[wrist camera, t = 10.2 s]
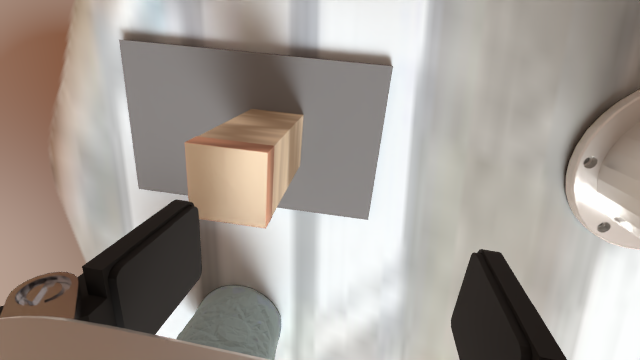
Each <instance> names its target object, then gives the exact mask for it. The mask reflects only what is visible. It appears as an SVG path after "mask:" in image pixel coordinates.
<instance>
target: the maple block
mask: <svg viewBox="0 0 640 360" xmlns="http://www.w3.org/2000/svg"><path fill="white" fill-rule="evenodd" d="M303 117H304V115H302V114H293V113H284V112H275V111H266V110H257V109H250V110H248V111H247V112H245V113H243V114H241V115H239V116H237V117H235V118H233V119H231V120H229V121H227V122H225V123H223V124H221V125H219V126H217V127H215V128H213V129H211V130H209V131H207V132H205V133H203V134H201V135H199V136H196V137H194V138H192V139H190V140H188V141H186V142H185V155H186V169H187V183H188V198H189V202H192V203H193V204H194V206H195V207H197V208H198V212H199V219H203V220H210V221H217V222H224V223H232V224H239V225H246V226H253V227H260V228H266V227H267V225H268V223H269V222H270V220H271V218H272V215H273V213H274V212H275V210H276V208H277V206H278V204H279V203H280V201H281V199H282V197H283V195H284V193H285V192H286V190H287V188H288V186H289V184H290V183H291V181H292V179H293V177H294V175H295V174H296V172H297V170H298V168H299V166H300V160H301V146H302V132H303Z"/></svg>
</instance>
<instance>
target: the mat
mask: <svg viewBox="0 0 640 360" xmlns="http://www.w3.org/2000/svg"><path fill="white" fill-rule="evenodd" d="M119 42H120V49H121V57H122V65H123V72H124V80H125V87H126V95H127V103H128V110H129V118H130V125H131V133H132V141H133V148H134V156H135V163H136V171H137V179H138V186H139V189H145V190H152V191H160V192H167V193H174V194H182V195H188V183H187V169H186V155H185V142H186V141H188V140H190V139H192V138H194V137H196V136H199V135H201V134H203V133H205V132H207V131H209V130H211V129H213V128H215V127H217V126H219V125H221V124H223V123H225V122H227V121H229V120H231V119H233V118H235V117H237V116H239V115H241V114H243V113H245V112H247V111H248V110H250V109H257V110H266V111H275V112H284V113H293V114H302V115H304V117H303V132H302V146H301V160H300V166H299V168H298V170H297V172H296V174H295V175H294V177H293V179H292V181H291V183H290V184H289V186H288V188H287V190H286V192H285V193H284V195H283V197H282V199H281V201H280V203H279V204H278V206H277V207H278V208H285V209H292V210H300V211H307V212H314V213H322V214H329V215H337V216H344V217H351V218H359V219H366V220H368V216H369V210H370V204H371V198H372V192H373V186H374V179H375V173H376V167H377V161H378V155H379V149H380V143H381V136H382V130H383V124H384V118H385V112H386V106H387V99H388V93H389V87H390V81H391V75H392V69H393V66H388V65H377V64H367V63H357V62H347V61H336V60H326V59H316V58H306V57H295V56H285V55H275V54H264V53H254V52H244V51H234V50H223V49H213V48H203V47H193V46H182V45H172V44H162V43H152V42H141V41H131V40H119Z"/></svg>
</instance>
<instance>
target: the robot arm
mask: <svg viewBox="0 0 640 360" xmlns="http://www.w3.org/2000/svg"><path fill="white" fill-rule="evenodd" d="M566 195H567V199H568V203H569V206H570V208H571V210H572V212H573V213H574V215H575V217H576V218H577V219H578V220H579V221H580V222H581V223H582V225H583V226H584V227H586V228H587V229H588V230H589V231H591V232H592V233H593V234H594V235H596V236H597V237H599V238H601V239H603V240H605V241H607V242H608V243H611V244H614V245H617V246H620V247H624V248H630V249H637V250H640V90H637V91H636V92H634V93H632V94H630V95H629V96H627V97H625V98H624V99H622V100H620V101H618V102H617V103H616V104H614V105H613V106H612V107H611V108H609V109H608V110H607V111H606V112H604V113H603V114H602V115H601V116H600V117H599V118H598V119H597V120H596V121H595V122H594V123H593V124H592V125H591V126H590V127H589V128H588V129H587V131H586V132H585V134H584V135H583V137H582V138H581V139H580V141H579V142H578V144H577V145H576V147H575V150H574V152H573V154H572V156H571V159H570V161H569V165H568V169H567V173H566ZM82 268H83V274H82V275H80V276H79V277H77V276H75V275H74V274H72V273H68V272H53V273H47V274H44V275H40V276H37V277H34V278H32V279H29V280H27V281H25V282H24V283H22V284H20V285H19V286H17V287H16V288H15V289H14V290H13V291H11V293H10V294H9V296H8V297H7V299H6V302H5V305H4V306H1V307H0V360H270V359H265V358H260V357H256V356H251V355H247V354H242V353H238V352H233V351H228V350H224V349H219V348H214V347H210V346H205V345H200V344H195V343H191V342H186V341H181V340H177V339H172V338H167V337H162V336H158V335H155V334H156V333H157V331H158V330H159V329H160V328H161V326H162V325H163V324H164V323H165V321H166V320H167V319H168V318H169V316H170V315H171V314H172V312H173V311H174V310H175V309H176V307H177V306H178V305H179V304H180V302H181V301H182V300H183V299H184V297H185V296H186V295H187V294H188V292H189V291H190V290H191V289H192V287H193V286H194V285H195V284H196V282H197V281H198V280H199V278H200V276H201V272H202V264H201V246H200V229H199V212H198V208H197V207H195V206H194V204H193V203H192V202H188V201H182V200H174V201H173V202H171V203H170V204H168V205H167V206H166V207H164V208H163V209H161V210H160V211H159V212H157V213H156V214H154V215H153V216H152V217H150V218H149V219H148V220H146V221H145V222H143V223H142V224H141V225H139V226H138V227H136V228H135V229H134V230H132V231H131V232H129V233H128V234H127V235H125V236H124V237H122V238H121V239H120V240H118V241H117V242H116V243H114V244H113V245H111V246H110V247H109V248H107V249H106V250H104V251H103V252H102V253H100V254H99V255H97V256H96V257H95V258H93V259H92V260H91V261H89V262H88V263H86V264H85V265H84V266H82ZM451 328H452V332H453V336H454V340H455V344H456V347H457V351H458V355H459V359H460V360H567V359H566V357H565V356H564V354H563V352H562V351H561V349H560V348H559V346H558V344H557V343H556V341H555V339H554V338H553V336H552V335H551V333H550V331H549V330H548V328H547V326H546V325H545V323H544V322H543V320H542V318H541V317H540V315H539V313H538V312H537V310H536V309H535V307H534V305H533V304H532V303H531V301H530V299H529V298H528V296H527V295H526V293H525V291H524V290H523V288H522V286H521V285H520V283H519V281H518V280H517V278H516V277H515V275H514V273H513V272H512V270H511V268H510V267H509V265H508V264H507V262H506V260H505V259H504V257H503V255H502V254H501V253H500V252H495V251H489V250H483V249H480V250H479V251H478V253H472V255H471V257H470V261H469V264H468V267H467V270H466V273H465V277H464V280H463V283H462V286H461V289H460V292H459V296H458V299H457V302H456V305H455V308H454V311H453V315H452V318H451Z"/></svg>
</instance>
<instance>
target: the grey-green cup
mask: <svg viewBox="0 0 640 360" xmlns="http://www.w3.org/2000/svg"><path fill="white" fill-rule="evenodd" d="M280 331H281V319H280V314H279V313H278V312H277V309H276V308H275V305H274V304H273V303H272V302H271V301H270V300H269V299H268V298H267V297H265V296H263V294H261V293H259V292H258V291H256V290H254V289H251V288H249V287H244V286H237V285H229V286H224V287H220V288H218V289H216V290H214V291H212V292H211V293H210V294H208V295H207V296H206V298H205V299H204V300H203V301H202V303H201V304H200V305H199V307H198V309H197V311H196V313H195V315H194V316H193V317H192V318H191V320H190V321H189V322H188V324H187V325H186V326H185V328H184V329H183V331H182V332H181V333H180V334H179V335H178V337H177V340H181V341H186V342H191V343H195V344H200V345H205V346H210V347H214V348H219V349H224V350H228V351H233V352H238V353H242V354H247V355H251V356H256V357H260V358H265V359H270V360H274V358H275V353H276V348H277V343H278V340H279V337H280Z"/></svg>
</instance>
